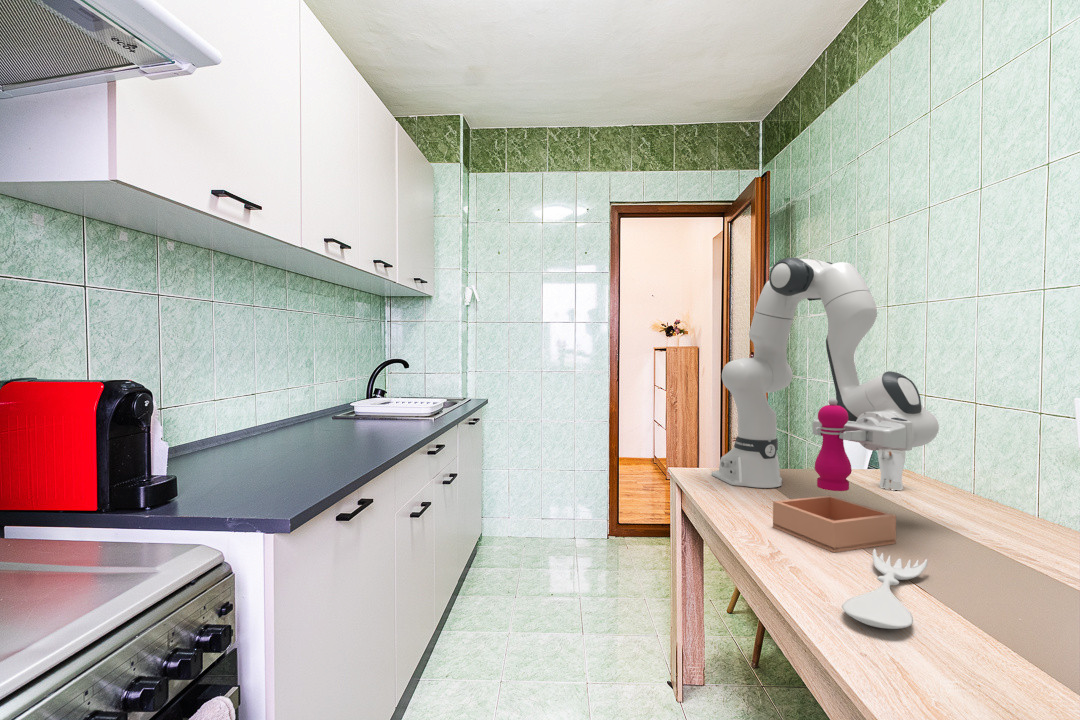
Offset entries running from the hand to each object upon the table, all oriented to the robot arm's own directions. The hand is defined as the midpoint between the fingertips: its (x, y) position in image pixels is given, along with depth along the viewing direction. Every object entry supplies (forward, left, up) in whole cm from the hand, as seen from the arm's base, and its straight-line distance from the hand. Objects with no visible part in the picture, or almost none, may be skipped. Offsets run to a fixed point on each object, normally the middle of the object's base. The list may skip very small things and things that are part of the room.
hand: (829, 433), depth 120 cm
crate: (0, +1, -23) cm, 23 cm away
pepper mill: (0, +1, -12) cm, 12 cm away
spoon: (+27, -16, -23) cm, 39 cm away
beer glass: (-27, +53, -23) cm, 64 cm away
